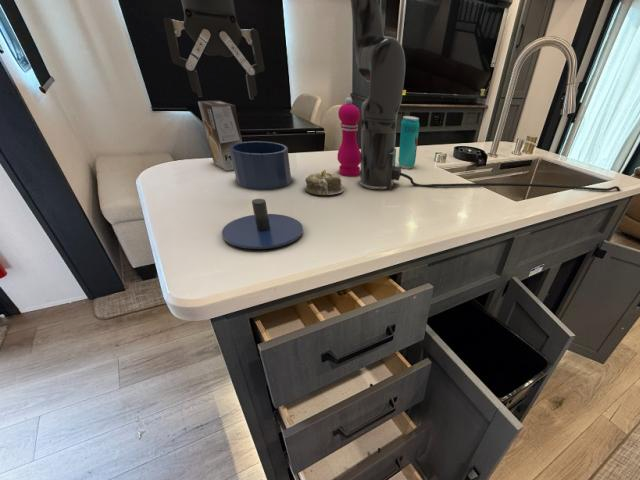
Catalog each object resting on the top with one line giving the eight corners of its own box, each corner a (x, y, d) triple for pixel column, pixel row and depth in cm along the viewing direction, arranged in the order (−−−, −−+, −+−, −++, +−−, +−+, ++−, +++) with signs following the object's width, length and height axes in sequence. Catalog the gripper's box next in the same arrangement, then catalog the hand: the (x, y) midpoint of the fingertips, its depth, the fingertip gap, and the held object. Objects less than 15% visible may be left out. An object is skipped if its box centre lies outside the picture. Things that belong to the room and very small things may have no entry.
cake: (298, 194, 83) (294, 172, 80) (318, 184, 91) (316, 164, 87) (332, 199, 80) (329, 176, 77) (350, 188, 88) (349, 167, 85)
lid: (313, 224, 68) (311, 193, 65) (285, 257, 57) (279, 222, 53) (247, 214, 69) (241, 184, 65) (206, 245, 58) (195, 210, 54)
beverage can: (414, 170, 108) (420, 119, 99) (397, 168, 108) (401, 117, 99) (414, 165, 113) (419, 117, 104) (398, 163, 113) (402, 115, 104)
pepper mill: (359, 177, 97) (360, 100, 85) (335, 175, 96) (333, 97, 84) (362, 170, 102) (363, 97, 90) (339, 168, 102) (338, 94, 90)
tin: (298, 177, 92) (295, 145, 87) (278, 192, 81) (273, 157, 76) (253, 171, 93) (247, 139, 88) (226, 185, 82) (218, 150, 77)
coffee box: (248, 168, 95) (236, 105, 85) (226, 171, 91) (211, 105, 81) (233, 160, 99) (220, 100, 90) (212, 163, 95) (196, 100, 86)
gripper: (143, -41, 44) (181, 98, 53) (255, -20, 49) (271, 102, 59) (149, -33, 49) (182, 93, 59) (250, -15, 55) (265, 97, 64)
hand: (227, 97), depth 59 cm, fingers open, 8 cm apart
